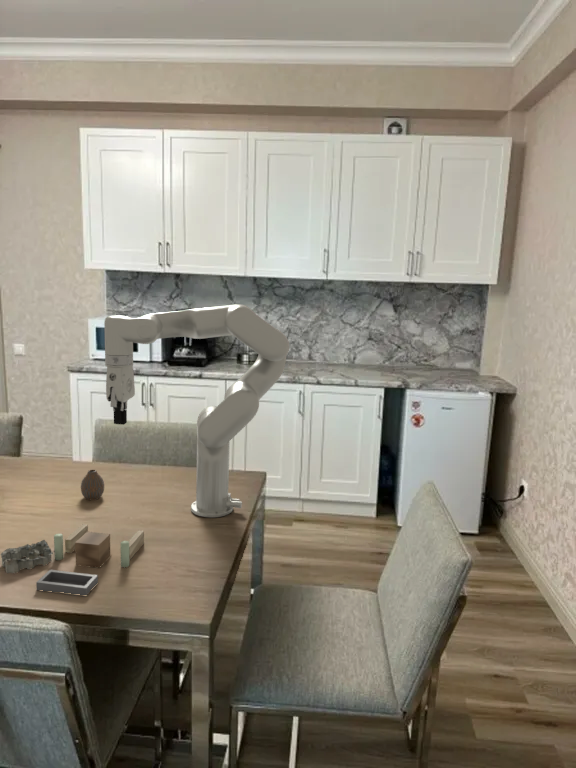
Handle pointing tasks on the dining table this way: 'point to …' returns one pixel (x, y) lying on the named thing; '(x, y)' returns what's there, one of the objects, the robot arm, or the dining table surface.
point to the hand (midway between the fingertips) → (120, 423)
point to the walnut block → (92, 549)
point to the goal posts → (59, 550)
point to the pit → (67, 582)
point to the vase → (92, 485)
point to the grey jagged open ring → (14, 555)
